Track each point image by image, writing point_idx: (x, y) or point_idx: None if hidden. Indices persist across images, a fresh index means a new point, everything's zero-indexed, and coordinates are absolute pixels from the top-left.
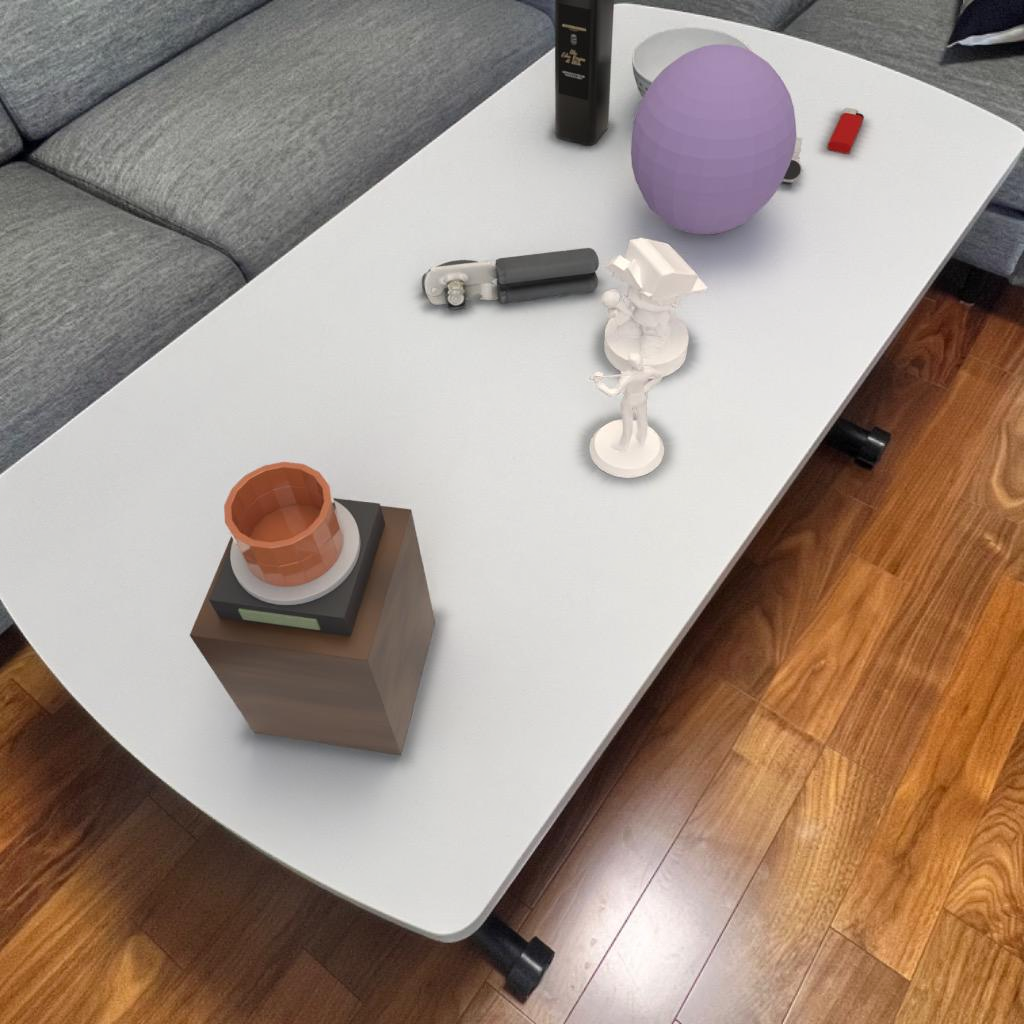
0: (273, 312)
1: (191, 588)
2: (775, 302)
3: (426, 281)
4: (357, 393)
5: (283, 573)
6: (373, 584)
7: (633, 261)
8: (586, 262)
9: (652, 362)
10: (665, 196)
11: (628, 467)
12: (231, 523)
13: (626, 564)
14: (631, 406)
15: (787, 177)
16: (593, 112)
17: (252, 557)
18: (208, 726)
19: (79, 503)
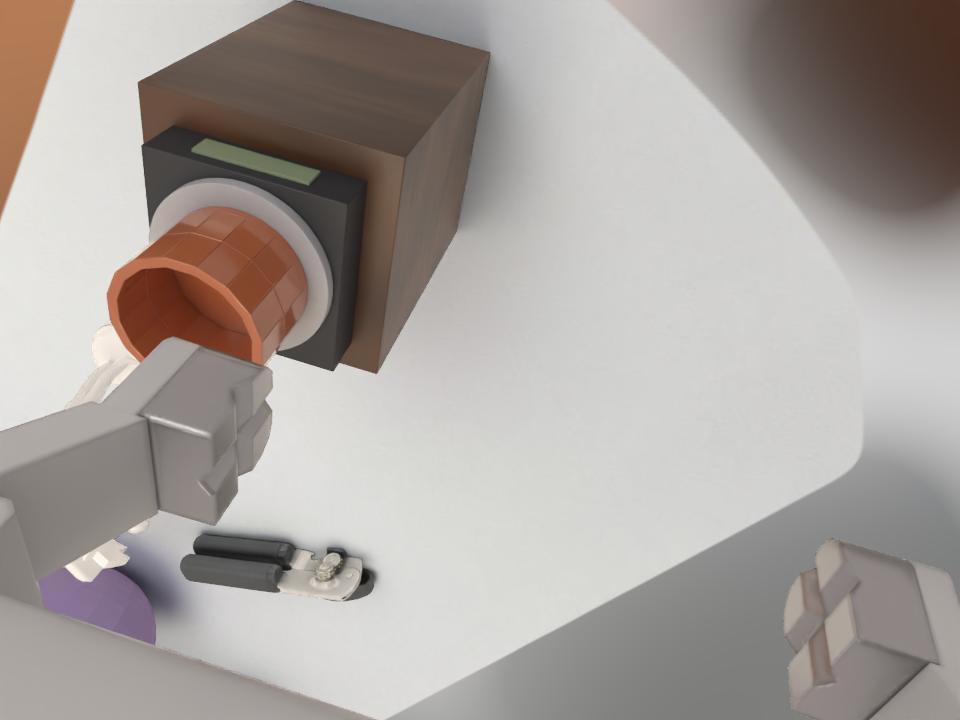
0: (538, 592)
1: (599, 272)
2: None
3: (351, 586)
4: (428, 479)
5: (200, 223)
6: None
7: (83, 558)
8: (189, 566)
9: None
10: (102, 614)
11: (117, 336)
12: (239, 310)
13: (97, 224)
14: (79, 401)
15: None
16: None
17: (224, 252)
18: (554, 68)
19: (761, 412)
